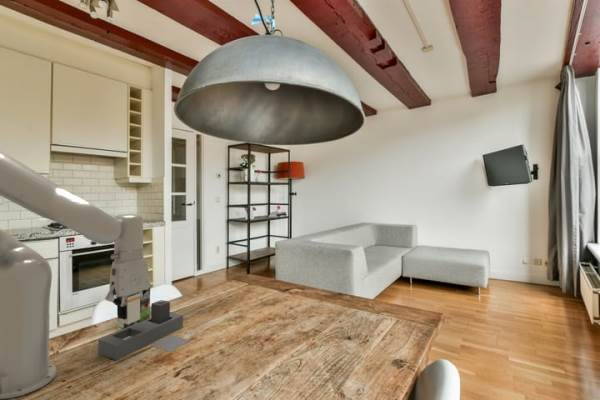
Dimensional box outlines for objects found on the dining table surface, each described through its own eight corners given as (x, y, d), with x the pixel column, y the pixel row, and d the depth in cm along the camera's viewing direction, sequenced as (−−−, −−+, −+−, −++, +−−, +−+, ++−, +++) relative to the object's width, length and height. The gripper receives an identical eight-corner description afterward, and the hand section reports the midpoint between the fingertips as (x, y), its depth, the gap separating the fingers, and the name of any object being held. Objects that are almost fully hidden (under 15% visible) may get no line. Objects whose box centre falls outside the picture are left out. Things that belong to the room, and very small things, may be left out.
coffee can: (156, 320, 111) (157, 282, 111) (135, 332, 101) (136, 291, 101) (132, 317, 113) (132, 280, 113) (109, 329, 103) (110, 288, 103)
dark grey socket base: (116, 361, 84) (116, 345, 84) (98, 354, 87) (98, 339, 87) (182, 327, 106) (182, 315, 106) (166, 323, 109) (166, 311, 109)
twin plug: (159, 329, 99) (160, 303, 99) (151, 327, 101) (151, 301, 101) (169, 325, 103) (169, 300, 103) (160, 322, 104) (161, 298, 104)
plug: (127, 324, 88) (127, 295, 88) (118, 321, 90) (118, 293, 90) (140, 319, 92) (140, 291, 92) (131, 316, 94) (131, 289, 94)
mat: (170, 353, 89) (170, 351, 89) (151, 346, 92) (151, 345, 92) (190, 341, 96) (190, 340, 96) (172, 336, 100) (172, 334, 99)
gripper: (109, 262, 81) (110, 329, 82) (161, 251, 97) (161, 307, 97) (92, 259, 84) (93, 324, 85) (144, 249, 100) (145, 303, 100)
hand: (129, 314), depth 91 cm, fingers closed on plug, 4 cm apart
